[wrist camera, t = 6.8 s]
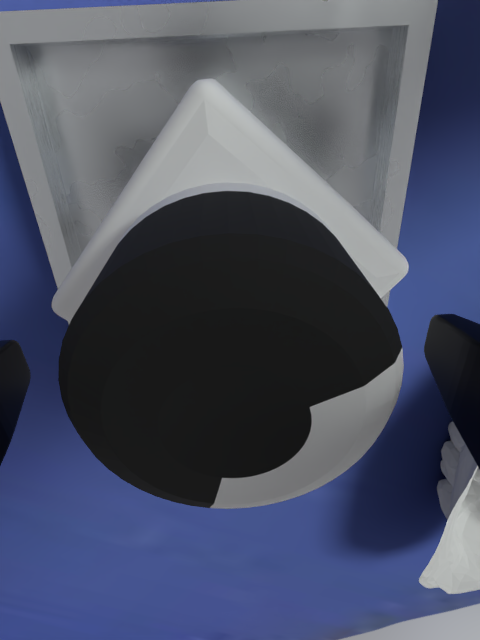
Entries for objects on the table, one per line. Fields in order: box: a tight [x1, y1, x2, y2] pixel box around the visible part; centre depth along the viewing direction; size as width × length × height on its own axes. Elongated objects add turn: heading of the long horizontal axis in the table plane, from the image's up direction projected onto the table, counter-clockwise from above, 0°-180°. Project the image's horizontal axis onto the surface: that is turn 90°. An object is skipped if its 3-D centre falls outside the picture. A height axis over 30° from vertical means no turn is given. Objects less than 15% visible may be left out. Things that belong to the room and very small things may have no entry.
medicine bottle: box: [51, 78, 409, 509], centre depth 12 cm, size 7×7×12 cm
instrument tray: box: [0, 0, 438, 324], centre depth 17 cm, size 14×14×2 cm
